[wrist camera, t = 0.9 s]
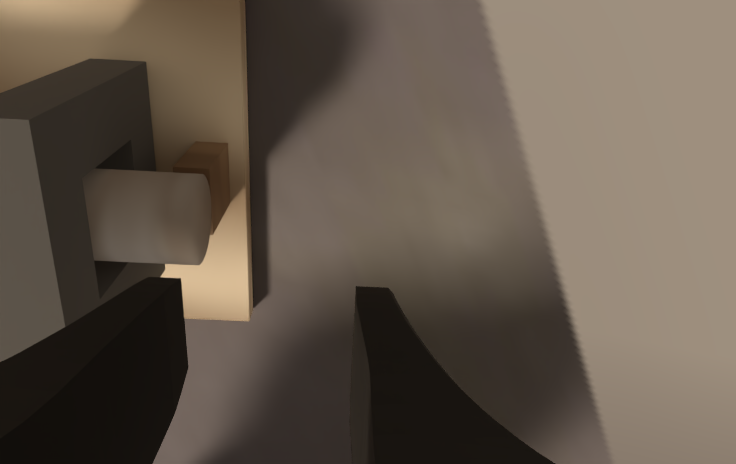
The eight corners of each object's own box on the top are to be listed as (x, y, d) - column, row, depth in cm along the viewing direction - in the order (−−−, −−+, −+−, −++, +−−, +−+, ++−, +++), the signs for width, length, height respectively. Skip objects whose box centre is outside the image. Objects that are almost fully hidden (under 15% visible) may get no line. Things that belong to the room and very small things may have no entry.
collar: (165, 269, 21) (79, 405, 14) (117, 266, 21) (9, 402, 14) (146, 61, 18) (28, 119, 12) (90, 58, 18) (-58, 115, 12)
